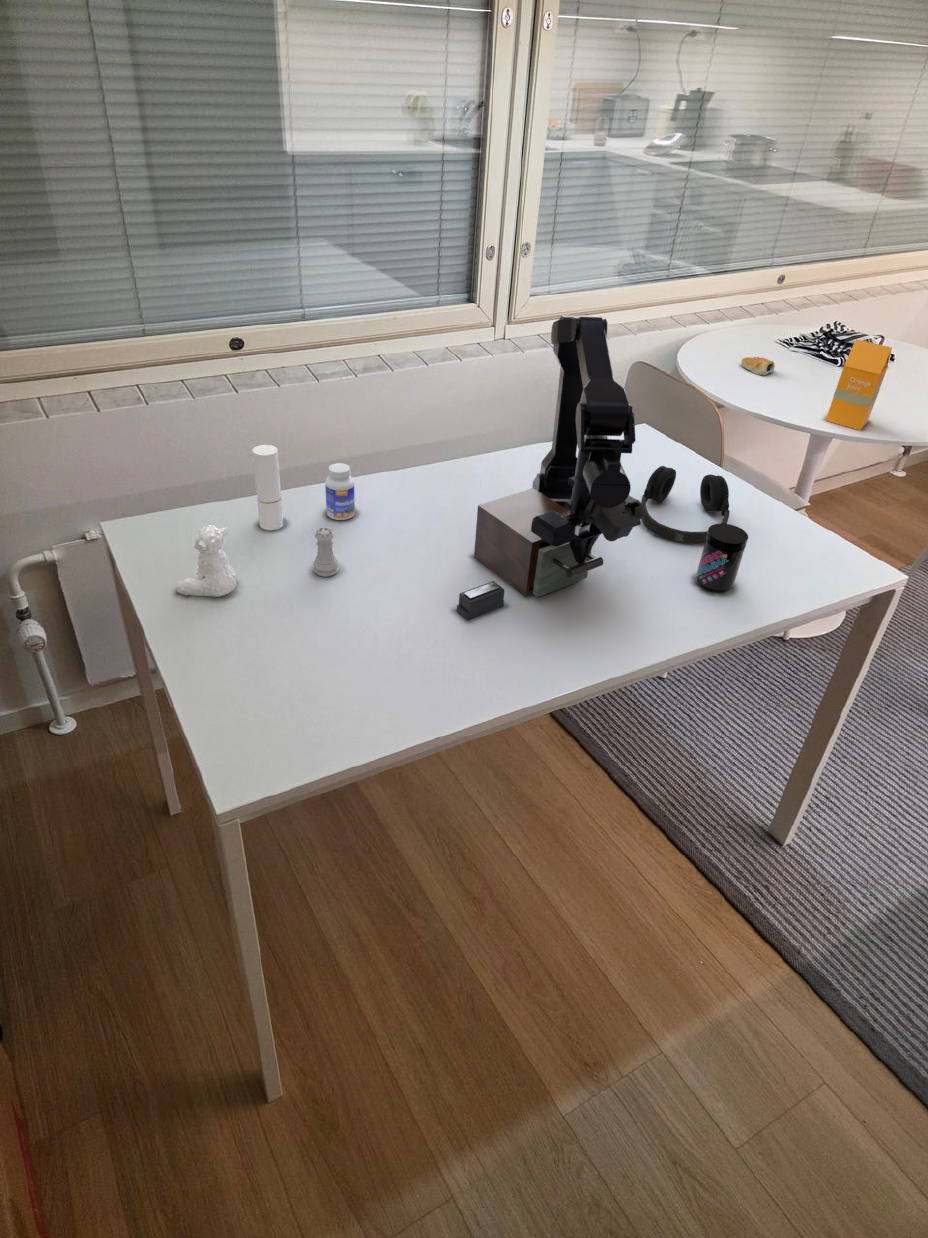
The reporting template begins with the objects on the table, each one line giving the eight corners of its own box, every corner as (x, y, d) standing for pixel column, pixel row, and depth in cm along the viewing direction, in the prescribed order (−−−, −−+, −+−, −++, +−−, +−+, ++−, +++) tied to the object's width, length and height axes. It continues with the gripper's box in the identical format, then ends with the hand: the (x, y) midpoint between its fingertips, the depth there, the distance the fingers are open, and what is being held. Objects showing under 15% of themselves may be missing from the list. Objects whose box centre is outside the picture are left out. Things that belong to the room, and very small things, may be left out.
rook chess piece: (343, 567, 145) (342, 527, 140) (332, 580, 141) (330, 539, 136) (320, 561, 146) (318, 521, 141) (308, 574, 142) (305, 533, 137)
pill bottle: (337, 523, 156) (335, 477, 151) (321, 512, 160) (318, 466, 154) (360, 515, 159) (359, 469, 154) (344, 504, 163) (343, 458, 157)
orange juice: (833, 411, 218) (859, 335, 206) (868, 421, 214) (896, 343, 202) (825, 420, 213) (851, 342, 201) (860, 430, 209) (888, 351, 197)
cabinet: (580, 575, 147) (588, 522, 141) (525, 596, 141) (532, 542, 134) (527, 538, 156) (533, 487, 150) (473, 557, 150) (477, 505, 144)
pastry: (735, 366, 243) (738, 353, 240) (748, 362, 246) (751, 349, 244) (762, 376, 237) (766, 363, 235) (775, 372, 241) (779, 359, 239)
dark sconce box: (492, 597, 140) (494, 578, 138) (503, 606, 138) (505, 587, 136) (456, 610, 136) (457, 592, 134) (467, 620, 134) (468, 601, 132)
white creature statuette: (214, 566, 142) (205, 504, 135) (254, 581, 139) (247, 519, 132) (174, 593, 135) (162, 529, 128) (215, 609, 133) (206, 545, 125)
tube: (278, 531, 153) (271, 456, 144) (256, 528, 153) (248, 453, 145) (286, 520, 156) (281, 446, 147) (265, 517, 157) (258, 443, 148)
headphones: (735, 470, 167) (730, 530, 153) (726, 500, 172) (720, 561, 158) (651, 456, 170) (638, 514, 156) (644, 486, 175) (631, 544, 162)
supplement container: (691, 571, 150) (705, 521, 144) (729, 575, 150) (744, 525, 144) (697, 593, 145) (711, 541, 139) (736, 596, 145) (752, 545, 138)
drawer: (606, 591, 142) (615, 547, 137) (557, 612, 136) (564, 567, 131) (536, 543, 153) (542, 500, 148) (487, 560, 148) (491, 516, 142)
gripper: (585, 513, 117) (570, 603, 126) (674, 482, 127) (654, 568, 136) (534, 481, 124) (523, 569, 133) (622, 455, 134) (606, 538, 143)
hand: (579, 562), depth 136 cm, fingers closed
